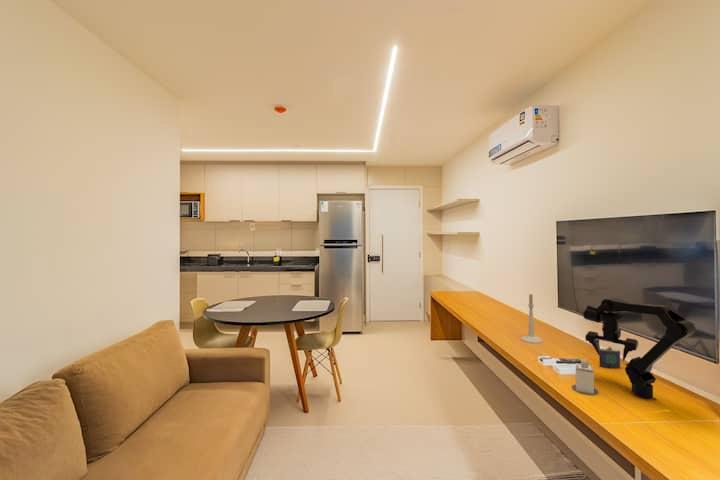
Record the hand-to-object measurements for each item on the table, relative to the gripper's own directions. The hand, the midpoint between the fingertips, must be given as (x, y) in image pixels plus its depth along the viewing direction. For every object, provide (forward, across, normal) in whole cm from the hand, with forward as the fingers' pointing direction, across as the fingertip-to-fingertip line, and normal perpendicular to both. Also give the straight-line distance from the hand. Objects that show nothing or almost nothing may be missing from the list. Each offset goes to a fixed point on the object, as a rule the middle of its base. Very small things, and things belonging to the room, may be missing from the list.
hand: (611, 357), depth 157 cm
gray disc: (+9, +6, +19) cm, 22 cm away
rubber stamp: (+8, +6, +19) cm, 22 cm away
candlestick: (+20, +50, -36) cm, 65 cm away
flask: (+16, +5, -19) cm, 25 cm away
